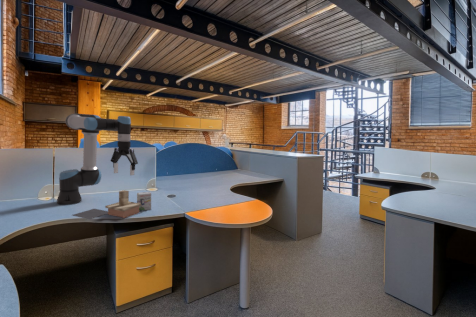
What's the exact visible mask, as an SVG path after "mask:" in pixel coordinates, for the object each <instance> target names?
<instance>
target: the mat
mask: <svg viewBox="0 0 476 317" xmlns="http://www.w3.org/2000/svg"><path fill="white" fill-rule="evenodd" d="M104 215H108V210H103V209H97V208H92V209H87V210H83V211H82V212H78V213H74V214H72V216H73V217H78V218H83V219H86V220H87V219H88V220H93V219H95V218H100V217H101V216H104Z"/></svg>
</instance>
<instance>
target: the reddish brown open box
mask: <svg viewBox="0 0 476 317" xmlns="http://www.w3.org/2000/svg"><path fill="white" fill-rule="evenodd" d="M107 211H108V214H107V215H108V216H114V217H119V218H122V219H127V218H130V217H132V216H135V215H138V214H140V210H139V206H138V207H135V208H132V209H129V210H126V211H119V210H114V209H109V208H107Z"/></svg>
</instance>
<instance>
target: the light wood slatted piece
mask: <svg viewBox="0 0 476 317" xmlns="http://www.w3.org/2000/svg"><path fill="white" fill-rule="evenodd" d="M129 195H130V191H129V190H126V189H125V190H124V189H123V190H119V191H118V202H115V203H111V204H108V205H105V206H104V207H105V209H108V208H109V209H114V210H119V211H126V210H129V209H132V208H135V207H138V206H141V204H140V203H137V202H135V201H129V197H130V196H129Z"/></svg>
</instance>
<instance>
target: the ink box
mask: <svg viewBox="0 0 476 317" xmlns="http://www.w3.org/2000/svg"><path fill="white" fill-rule="evenodd" d="M136 203H140V204H141V206H139V211H150V210H152V192H150V191H142V192H137V193H136Z"/></svg>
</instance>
